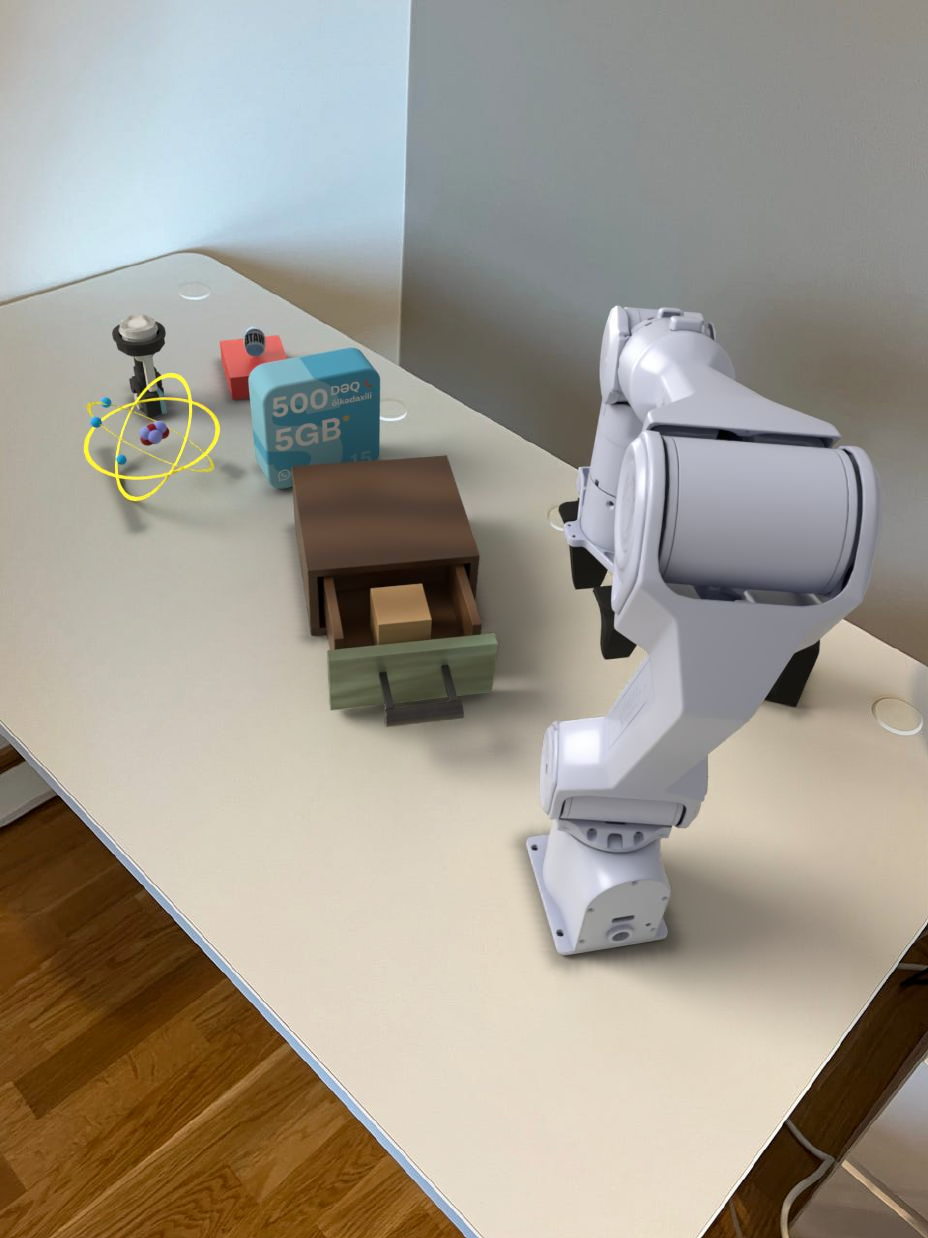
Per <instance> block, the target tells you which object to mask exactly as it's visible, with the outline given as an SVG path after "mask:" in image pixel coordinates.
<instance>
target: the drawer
mask: <svg viewBox="0 0 928 1238" xmlns="http://www.w3.org/2000/svg"><path fill="white" fill-rule="evenodd" d="M412 584H423V588H424V592H425V596H426V599H427V603H428V607H429V611H430V615H431V618H432V625H431V640H424V641H414V642H405V643H395V644H385V645H376V646H374V641H373V636H372V631H371V627H370V589H371V588H380V587H391V586H402V585H412ZM320 593H321V600H322V606H323V612H324V618H325V624H326V630H327V634H326V636H327V642H328V648H329V649H328V650H327V651H326V659H327V687H328V704H329V709H330V711H338V710H346V709H354V708H355V709H356V708H364V707H373V706H382V705H384V709H383V720H384V725H385V727H386V728H392V727H400V726H401V727H402V726H409V725H418V724H426V723H435V722H443V721H451V720H460V719H463V718H464V717H465V708H464V704H463V703H464V702H463V701H462V700H461V699H460V700H459V699H458V698H459V696H468V695H478V694H486V693H492V692H493V686H494V678H495V677H494V676H495V668H496V660H497V652H498V639H497V636H496V634H495V632H491V633H484V634H483V633H482V628H483V623H482V620H481V616H480V613H479V609H478V606H477V602H476V600H474V597H473V593H472V590H471V587H470V584H469V580H468V577H467V574H466V571H465V568H464V564H455V565H444V566H432V567H421V568H410V569H399V570H388V571H377V572H366V573H355V574H344V575H333V576H322V577H320ZM442 698H447V699H448V701H441V702H434V703H433V702H431V703H424V704H416V705H405V706H397V707H395V705H394V704H397V703H398V704H399V703H408V702H416V701H417V702H418V701H424V700H434V699H442Z"/></svg>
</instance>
